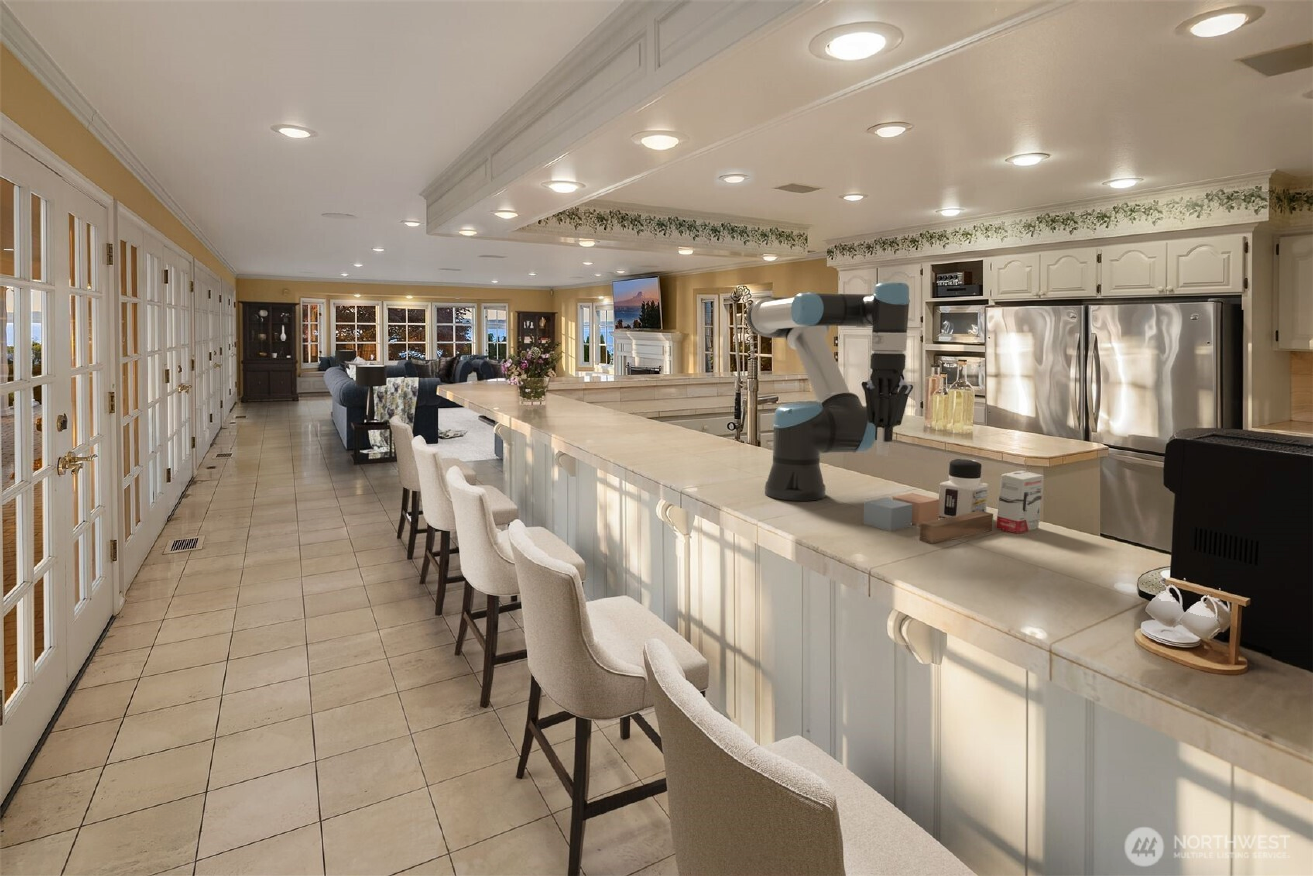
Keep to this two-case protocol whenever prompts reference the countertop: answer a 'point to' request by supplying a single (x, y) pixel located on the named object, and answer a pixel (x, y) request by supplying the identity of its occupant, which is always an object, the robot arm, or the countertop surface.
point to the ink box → (1019, 501)
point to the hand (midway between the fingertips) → (882, 455)
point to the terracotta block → (921, 507)
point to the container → (962, 489)
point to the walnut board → (955, 526)
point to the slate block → (888, 514)
